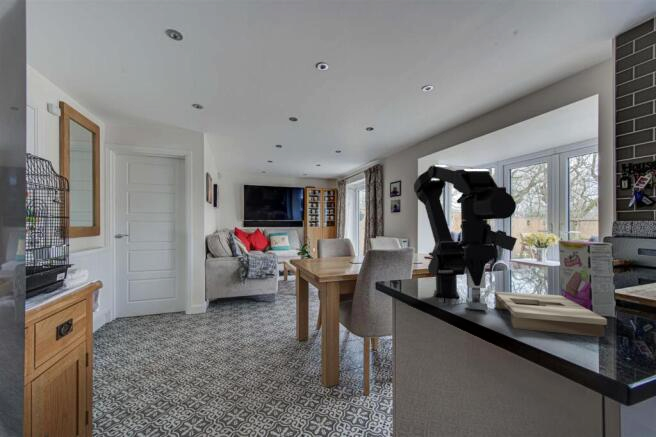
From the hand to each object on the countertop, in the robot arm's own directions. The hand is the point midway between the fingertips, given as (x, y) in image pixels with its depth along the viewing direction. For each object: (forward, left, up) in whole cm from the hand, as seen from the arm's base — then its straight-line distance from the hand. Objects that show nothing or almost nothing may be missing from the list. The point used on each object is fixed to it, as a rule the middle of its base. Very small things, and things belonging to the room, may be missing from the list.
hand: (475, 284), depth 68 cm
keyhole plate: (+3, +12, -6) cm, 14 cm away
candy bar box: (-8, +24, -6) cm, 26 cm away
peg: (0, 0, -6) cm, 6 cm away
